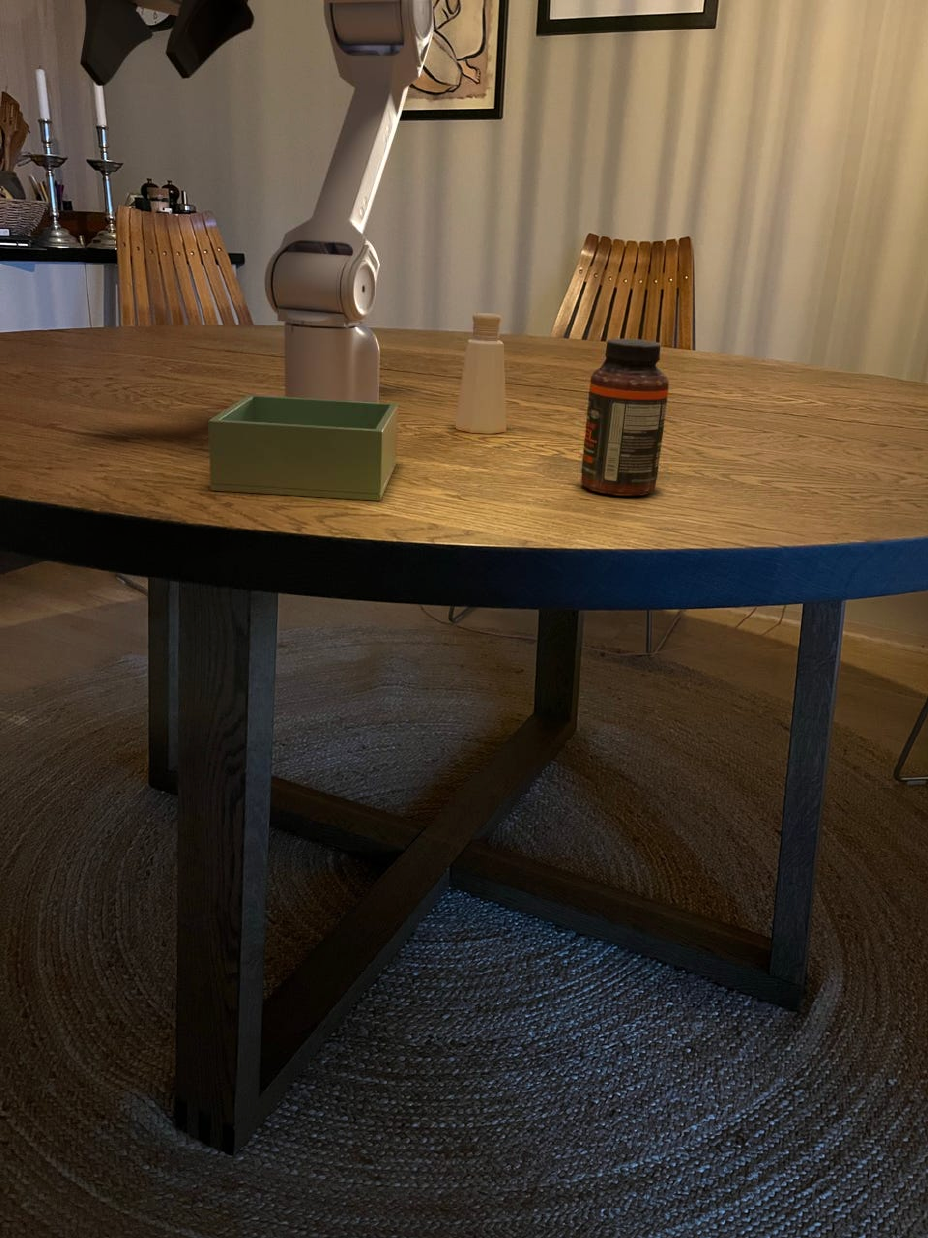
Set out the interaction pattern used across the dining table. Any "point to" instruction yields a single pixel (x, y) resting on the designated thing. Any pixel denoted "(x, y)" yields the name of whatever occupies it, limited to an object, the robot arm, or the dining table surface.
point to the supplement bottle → (625, 420)
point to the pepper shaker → (483, 379)
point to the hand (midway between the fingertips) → (134, 70)
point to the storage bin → (304, 447)
